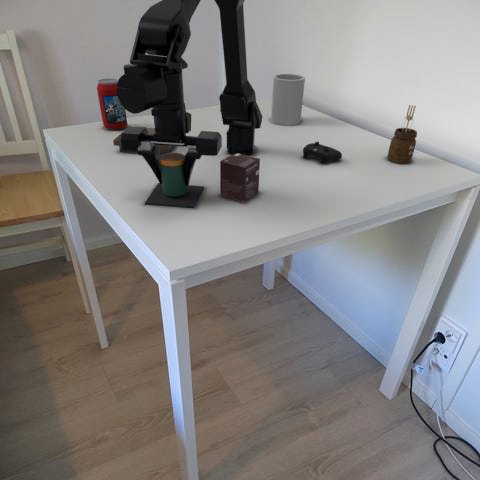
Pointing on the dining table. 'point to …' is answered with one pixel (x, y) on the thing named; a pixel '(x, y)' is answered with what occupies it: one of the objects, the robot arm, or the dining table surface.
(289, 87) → the cup
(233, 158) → the box
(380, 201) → the dining table surface
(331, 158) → the game controller
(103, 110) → the beverage can
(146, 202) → the mat
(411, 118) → the utensil holder
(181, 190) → the tin
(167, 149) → the stand
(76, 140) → the dining table surface
